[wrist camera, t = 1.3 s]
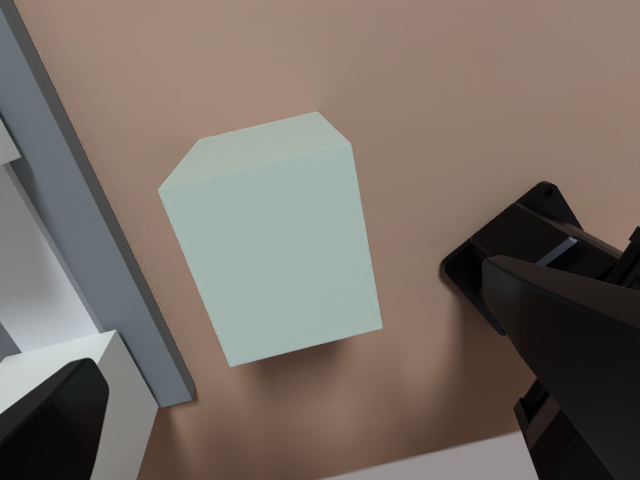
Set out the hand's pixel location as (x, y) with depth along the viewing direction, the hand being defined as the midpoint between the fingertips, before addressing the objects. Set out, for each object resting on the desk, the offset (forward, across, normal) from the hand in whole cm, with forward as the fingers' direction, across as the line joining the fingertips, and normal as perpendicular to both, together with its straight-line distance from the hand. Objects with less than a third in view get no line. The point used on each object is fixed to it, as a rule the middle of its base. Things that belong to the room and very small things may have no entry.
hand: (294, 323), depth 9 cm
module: (+10, 0, 0) cm, 10 cm away
